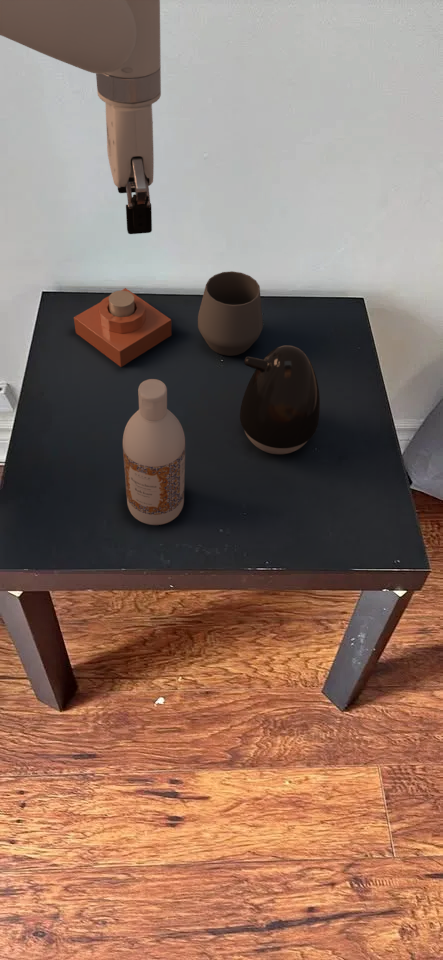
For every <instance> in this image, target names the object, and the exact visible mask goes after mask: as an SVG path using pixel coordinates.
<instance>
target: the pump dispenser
mask: <svg viewBox="0 0 443 960" xmlns="http://www.w3.org/2000/svg"><path fill="white" fill-rule="evenodd" d="M243 364H244V365H245V366H246V367H249V368H252V369H254V371H253V374H252V376H251V377H250V379H249V382H248V384H247V385H246V388H245V391H244V393H243V397H242V400H241V404H240V410H239V421H240V425H241V426H242V429H243V430H244V433H245V436H246V437H247V439H248V440H249V441H250V442H251V444H252V445H254V446H255V447H256V448H258V450H261V451H263V452H265V453H268V454H272V455H286V454H291V453H293V452H295V451H298V450H300V449H301V448H302V447H304V445H305V444H307V442H308V441H309V440H310V439H312V437H313V436H314V435H315V434H316V432H317V430H318V426H319V421H320V411H321V410H320V409H321V398H320V396H321V395H320V388H319V383H318V379H317V378H318V377H317V374H316V372H315V369H314V366H313V364H312V361H311V360H310V358H309V357H308V355H307V354H306V352H305V351H304V350H303V349H301V348H299V347H298V346H295V345H289V344H288V345H287V344H286V345H280V346H276V348H274V349H273V350H271V351H270V352H269V353H267V355H265V357H264V358H263V359H262V358H258V357H253V356H246V357H245V358H244V362H243Z"/></svg>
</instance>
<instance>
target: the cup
mask: <svg viewBox="0 0 443 960" xmlns="http://www.w3.org/2000/svg"><path fill="white" fill-rule="evenodd" d="M263 327H264V320H263V310H262V299H261V287H260V284H259V283H258V282H257V280H256V279H255V278H254V277H252V276H250V275H249V274H246V273H243V272H239V271H232V270H231V271H222V272H219V273H216V274H214V275H212V276H211V277H210V278H209V279H208V280H207V281H206V284H205V287H204V291H203V295H202V298H201V303H200V307H199V311H198V314H197V328H198V331H199V333H200V334H201V336H202V338H203V340H204V341H205V343H206V344H207V346H208V347H209V348H210V349H211V350H212V351H213V352H214V353H217V354H219V355H222V356H226V357H227V356H228V357H231V356H232V357H234V356H239V355H241V354H244V353H245V352H246V351H247V350H249V349H250V348H251V346H252V345H253V344H254V343H255V342H256V341H257V340H258V339H259V337H260V335H261V333H262V332H263Z"/></svg>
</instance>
